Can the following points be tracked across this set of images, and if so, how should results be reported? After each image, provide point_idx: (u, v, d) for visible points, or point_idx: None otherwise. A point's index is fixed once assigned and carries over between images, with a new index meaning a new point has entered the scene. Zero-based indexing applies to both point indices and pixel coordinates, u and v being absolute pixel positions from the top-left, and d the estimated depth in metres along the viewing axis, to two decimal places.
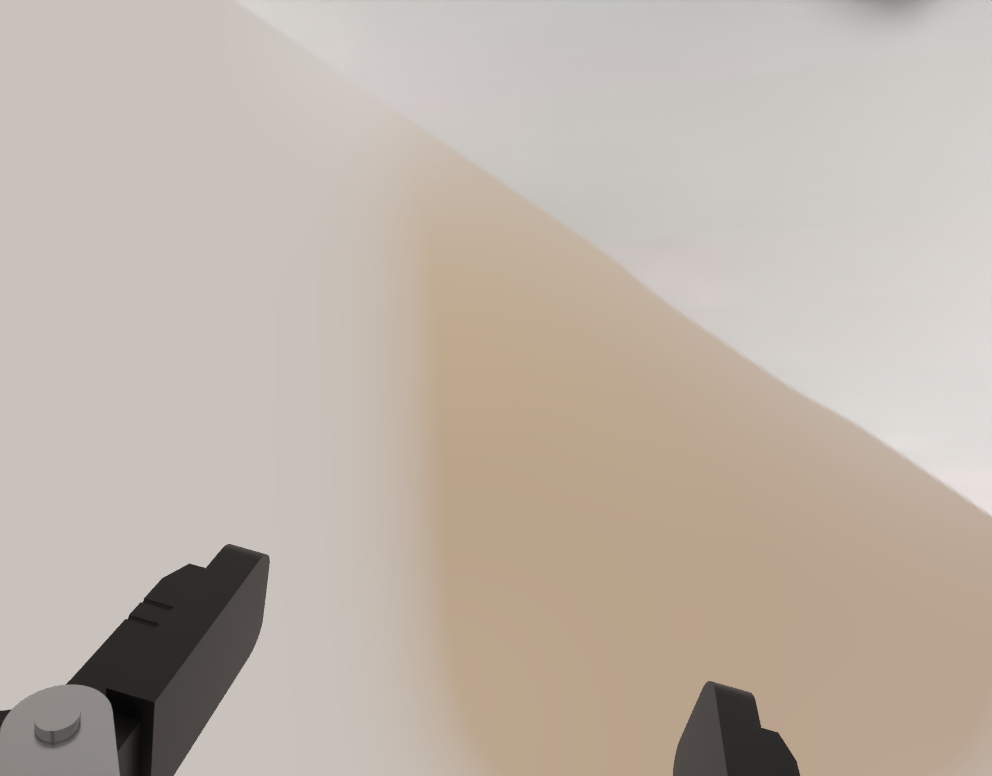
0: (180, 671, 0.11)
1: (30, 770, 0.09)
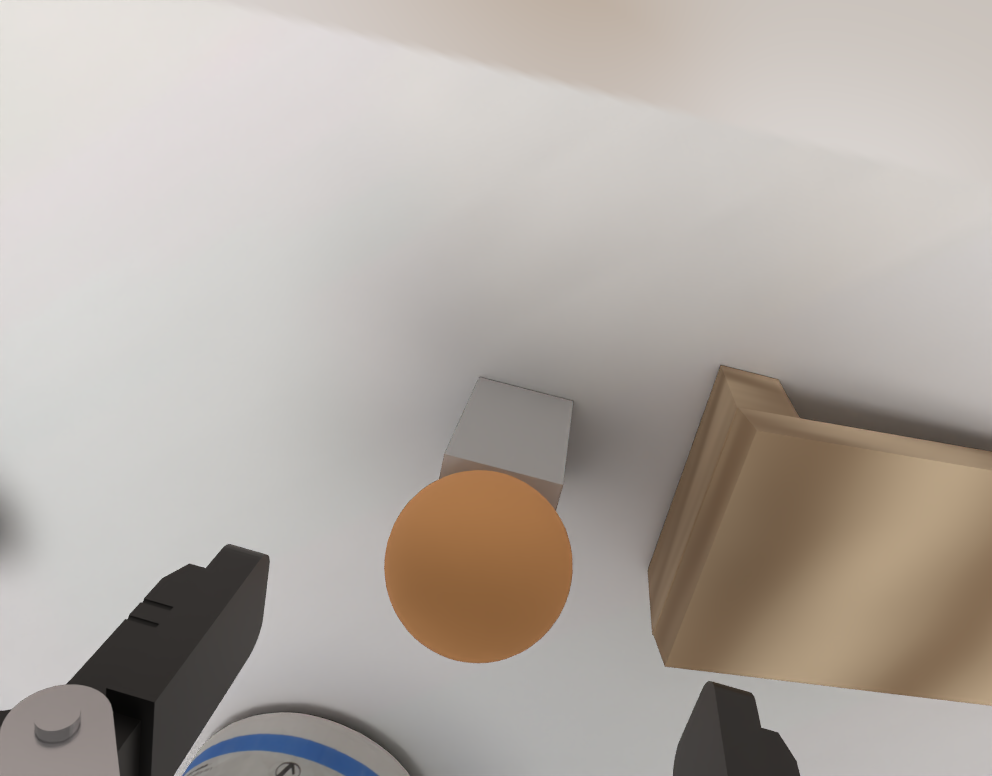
0: (180, 671, 0.11)
1: (30, 770, 0.09)
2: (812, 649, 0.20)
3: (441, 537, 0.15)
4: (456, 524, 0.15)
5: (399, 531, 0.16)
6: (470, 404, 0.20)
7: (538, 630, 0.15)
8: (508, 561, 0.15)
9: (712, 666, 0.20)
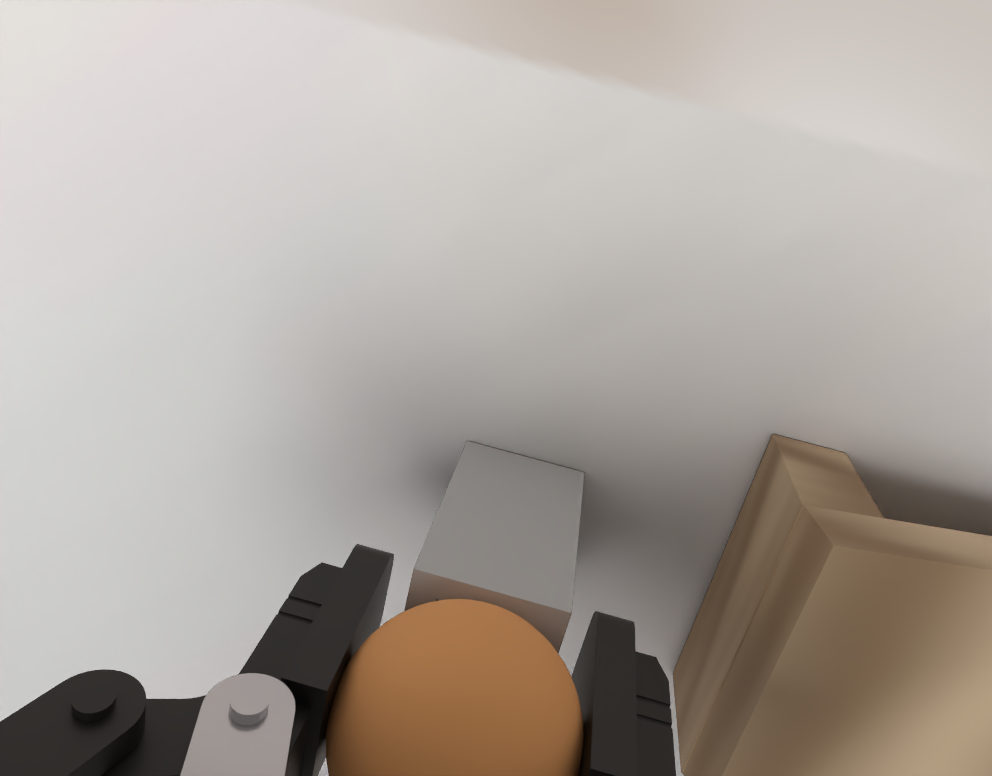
0: (341, 662, 0.11)
1: (235, 752, 0.10)
2: None
3: (399, 721, 0.10)
4: (421, 700, 0.10)
5: (344, 697, 0.11)
6: (453, 484, 0.16)
7: None
8: (492, 760, 0.10)
9: None
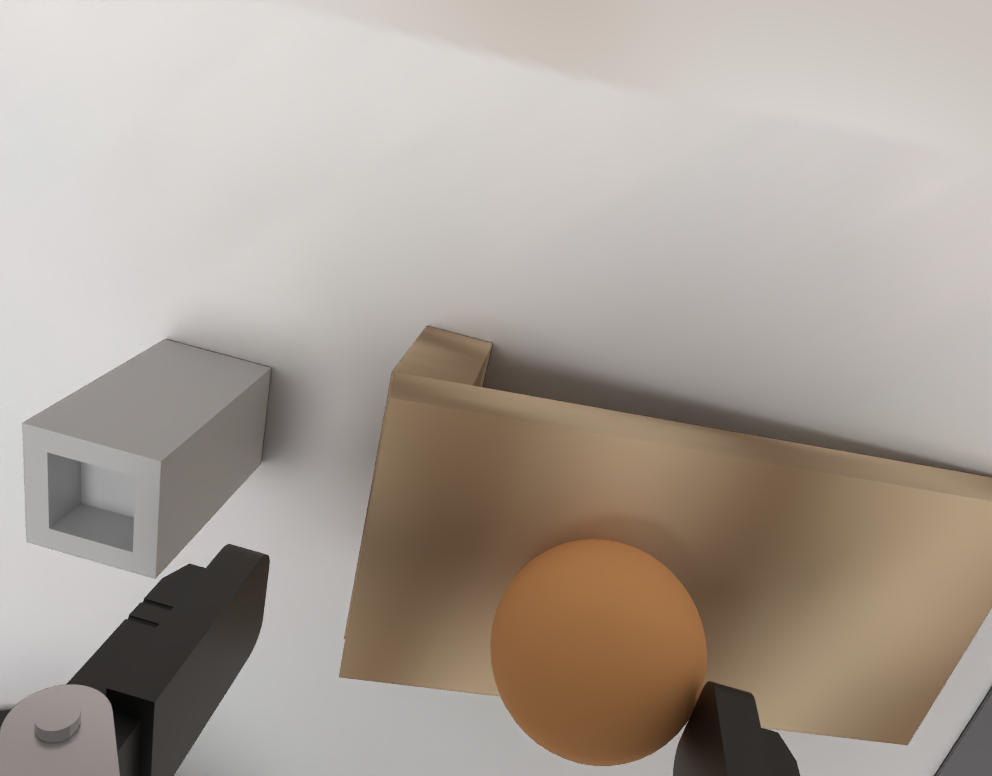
0: (180, 671, 0.11)
1: (30, 770, 0.09)
2: None
3: (660, 655, 0.13)
4: (660, 631, 0.13)
5: (595, 686, 0.12)
6: (120, 368, 0.17)
7: None
8: (698, 624, 0.14)
9: (396, 677, 0.17)
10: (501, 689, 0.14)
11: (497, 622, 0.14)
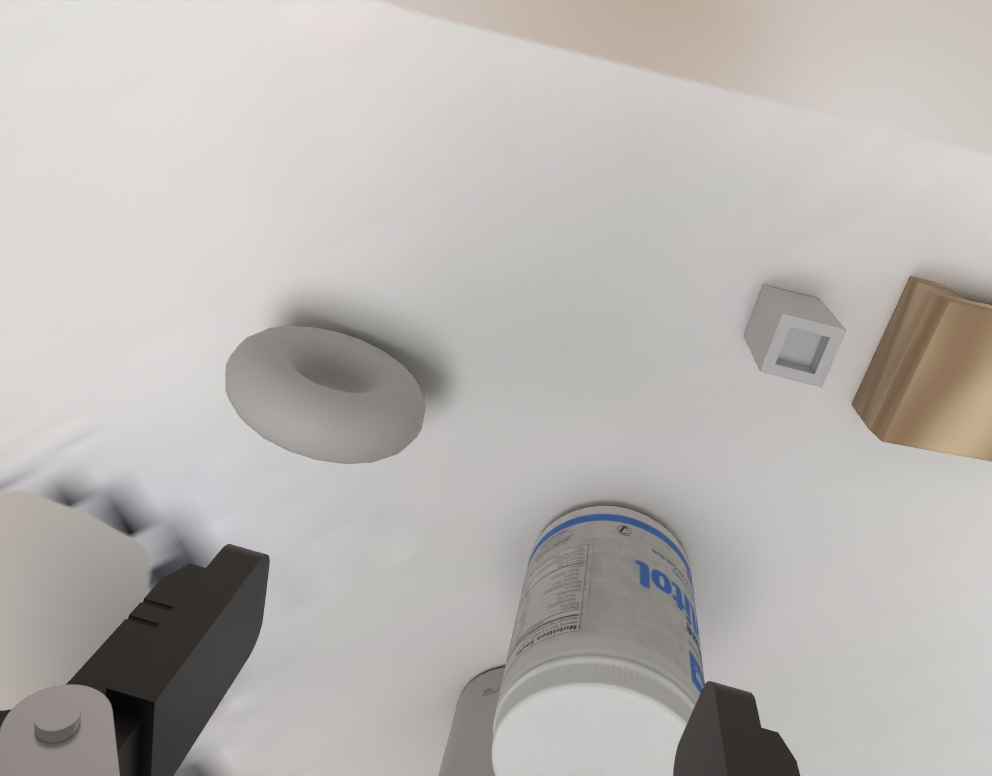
0: (180, 671, 0.11)
1: (30, 770, 0.09)
2: (964, 433, 0.36)
3: None
4: None
5: None
6: (772, 295, 0.36)
7: None
8: None
9: (907, 442, 0.36)
10: None
11: None
